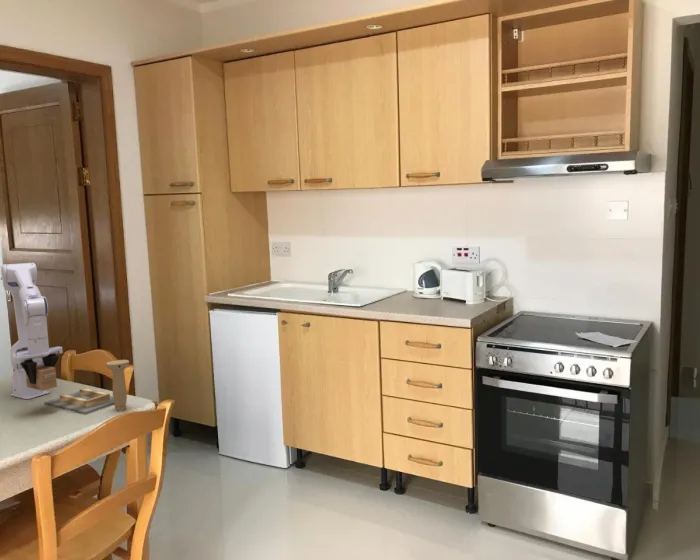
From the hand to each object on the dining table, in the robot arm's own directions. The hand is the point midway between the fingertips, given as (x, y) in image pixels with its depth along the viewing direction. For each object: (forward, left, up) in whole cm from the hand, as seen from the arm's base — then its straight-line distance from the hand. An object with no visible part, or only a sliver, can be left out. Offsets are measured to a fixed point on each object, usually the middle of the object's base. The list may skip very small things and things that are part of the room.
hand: (41, 381), depth 188 cm
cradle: (+5, +11, -9) cm, 15 cm away
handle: (+21, +12, -10) cm, 26 cm away
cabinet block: (0, 0, -2) cm, 2 cm away
